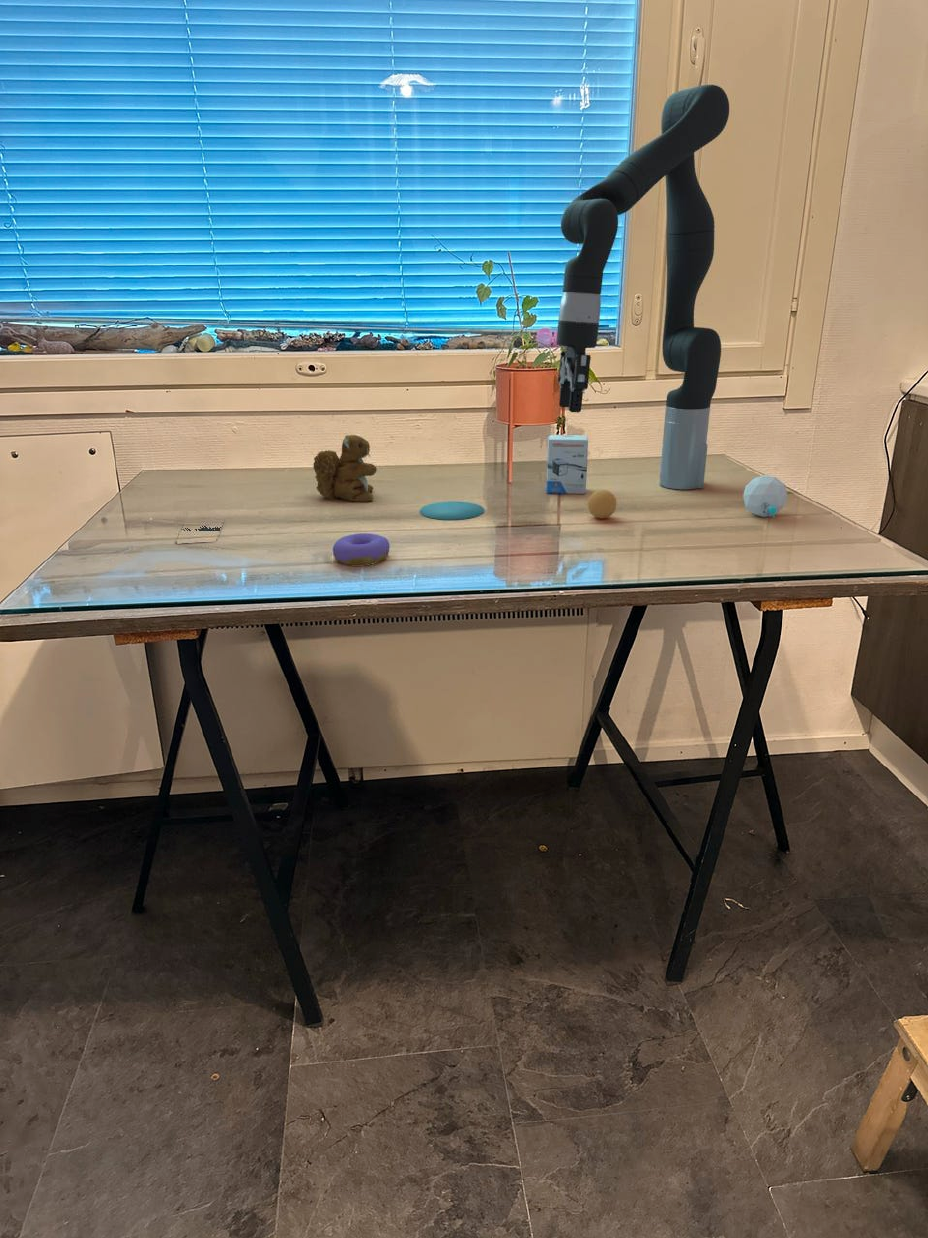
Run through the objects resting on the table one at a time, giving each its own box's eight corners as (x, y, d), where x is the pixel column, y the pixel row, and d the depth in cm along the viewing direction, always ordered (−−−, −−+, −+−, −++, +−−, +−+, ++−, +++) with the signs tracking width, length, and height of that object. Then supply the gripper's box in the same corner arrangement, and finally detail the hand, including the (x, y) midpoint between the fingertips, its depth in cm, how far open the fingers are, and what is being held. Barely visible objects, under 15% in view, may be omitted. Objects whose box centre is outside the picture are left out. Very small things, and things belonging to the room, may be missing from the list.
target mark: (488, 503, 170) (488, 502, 170) (478, 521, 158) (478, 520, 158) (427, 501, 172) (427, 500, 172) (413, 518, 160) (413, 517, 160)
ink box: (546, 493, 176) (547, 439, 171) (546, 487, 181) (547, 434, 176) (586, 494, 175) (588, 439, 171) (585, 488, 180) (587, 434, 175)
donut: (362, 544, 145) (364, 519, 143) (399, 564, 141) (402, 539, 138) (319, 558, 138) (321, 533, 136) (357, 581, 134) (360, 554, 131)
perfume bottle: (789, 491, 161) (804, 516, 150) (751, 514, 164) (763, 539, 154) (770, 461, 158) (784, 483, 148) (732, 484, 161) (743, 507, 151)
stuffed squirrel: (375, 502, 172) (372, 440, 167) (309, 503, 172) (303, 440, 167) (381, 490, 181) (377, 430, 176) (318, 491, 181) (313, 431, 176)
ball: (615, 514, 161) (617, 487, 158) (615, 522, 156) (617, 494, 154) (587, 513, 162) (588, 486, 159) (586, 521, 157) (588, 493, 154)
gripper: (609, 321, 144) (598, 415, 150) (588, 320, 157) (579, 406, 163) (567, 319, 143) (558, 413, 149) (551, 317, 157) (542, 404, 162)
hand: (569, 409), depth 156 cm, fingers open, 8 cm apart
